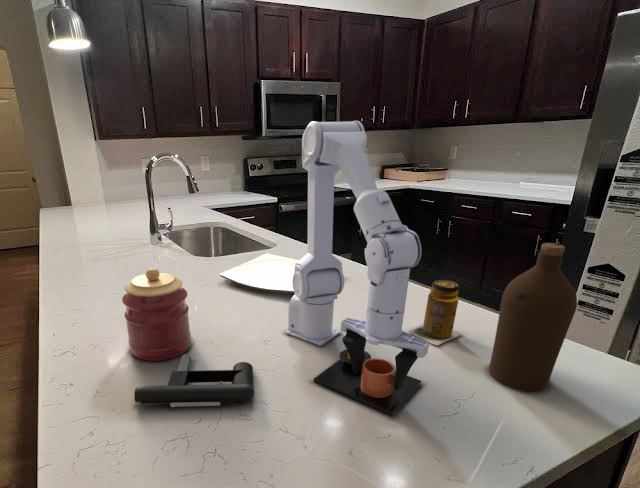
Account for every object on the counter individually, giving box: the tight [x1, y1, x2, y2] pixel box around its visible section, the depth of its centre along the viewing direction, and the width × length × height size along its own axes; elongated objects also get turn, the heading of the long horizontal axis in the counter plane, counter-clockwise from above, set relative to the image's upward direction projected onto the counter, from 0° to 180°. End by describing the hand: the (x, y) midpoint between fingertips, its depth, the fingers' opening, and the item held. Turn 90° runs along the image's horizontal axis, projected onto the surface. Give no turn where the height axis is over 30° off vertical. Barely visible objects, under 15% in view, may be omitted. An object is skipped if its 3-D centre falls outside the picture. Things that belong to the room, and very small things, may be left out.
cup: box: [360, 357, 396, 398], centre depth 72 cm, size 5×5×4 cm
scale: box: [313, 349, 422, 417], centre depth 75 cm, size 15×12×2 cm
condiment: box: [408, 279, 461, 346], centre depth 91 cm, size 7×8×12 cm
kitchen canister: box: [121, 267, 192, 362], centre depth 86 cm, size 13×13×18 cm
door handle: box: [133, 354, 255, 408], centre depth 76 cm, size 3×20×16 cm
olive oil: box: [488, 242, 578, 392], centre depth 72 cm, size 11×11×25 cm
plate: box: [219, 253, 299, 294], centre depth 128 cm, size 29×29×3 cm
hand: (377, 378), depth 72 cm, fingers open, 7 cm apart
